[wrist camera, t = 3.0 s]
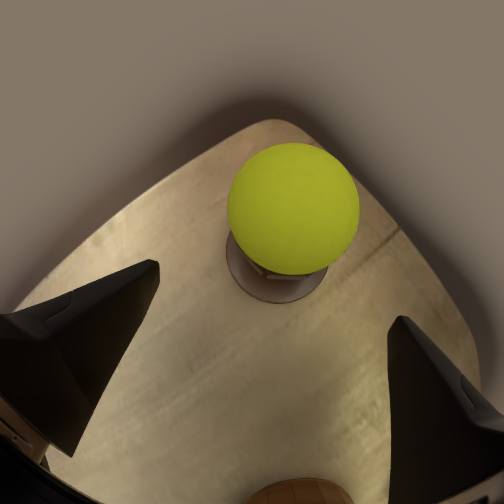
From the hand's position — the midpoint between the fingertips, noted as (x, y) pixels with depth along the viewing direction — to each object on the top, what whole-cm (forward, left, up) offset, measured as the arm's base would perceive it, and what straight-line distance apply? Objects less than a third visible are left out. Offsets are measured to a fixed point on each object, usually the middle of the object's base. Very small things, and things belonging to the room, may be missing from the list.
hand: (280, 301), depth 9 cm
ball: (+4, +3, -3) cm, 6 cm away
